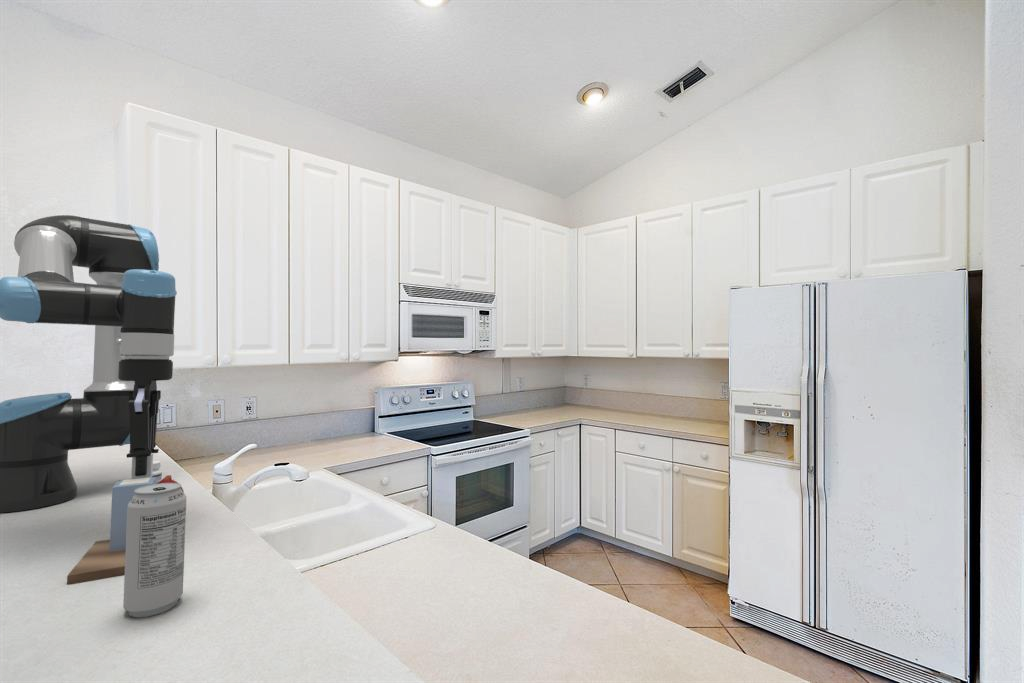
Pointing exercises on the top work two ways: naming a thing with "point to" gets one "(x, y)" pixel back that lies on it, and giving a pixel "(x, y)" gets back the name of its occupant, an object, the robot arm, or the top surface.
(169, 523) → the energy drink can
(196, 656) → the top surface
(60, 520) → the top surface
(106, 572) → the board
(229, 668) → the top surface
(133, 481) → the block
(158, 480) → the pill bottle
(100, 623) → the top surface
